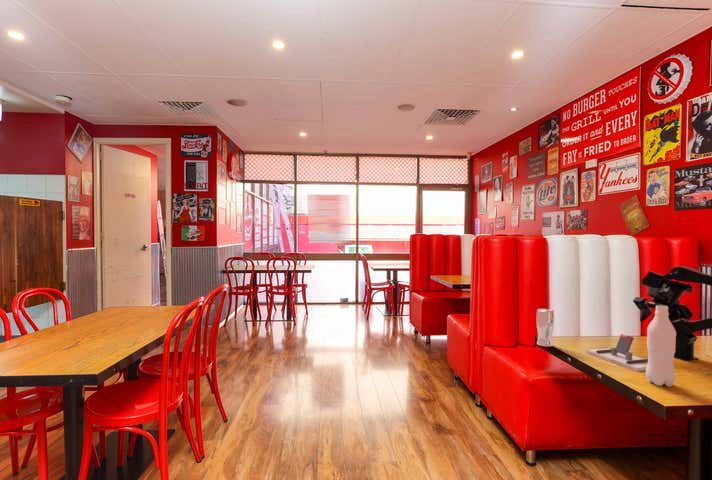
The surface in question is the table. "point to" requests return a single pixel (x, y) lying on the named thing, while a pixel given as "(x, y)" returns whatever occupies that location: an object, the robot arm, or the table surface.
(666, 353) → the water bottle
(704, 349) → the table surface
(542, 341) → the beer glass
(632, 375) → the table surface
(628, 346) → the lever
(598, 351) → the plate
